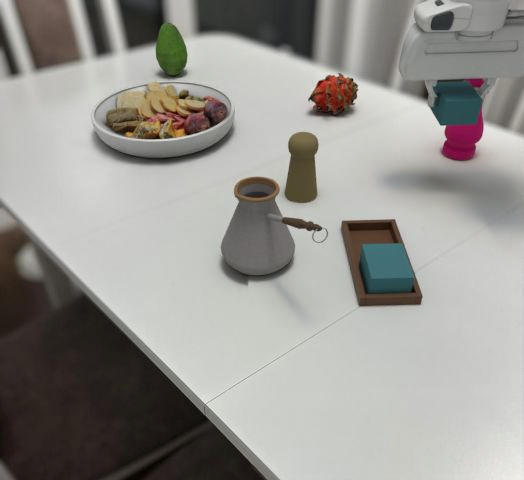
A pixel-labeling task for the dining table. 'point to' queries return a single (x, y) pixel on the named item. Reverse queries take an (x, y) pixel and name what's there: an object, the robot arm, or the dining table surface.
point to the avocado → (171, 50)
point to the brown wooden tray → (353, 240)
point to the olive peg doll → (302, 168)
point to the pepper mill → (464, 134)
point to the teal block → (385, 269)
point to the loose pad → (457, 103)
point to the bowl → (163, 118)
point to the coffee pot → (260, 229)
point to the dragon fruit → (334, 94)
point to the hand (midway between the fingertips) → (453, 105)
